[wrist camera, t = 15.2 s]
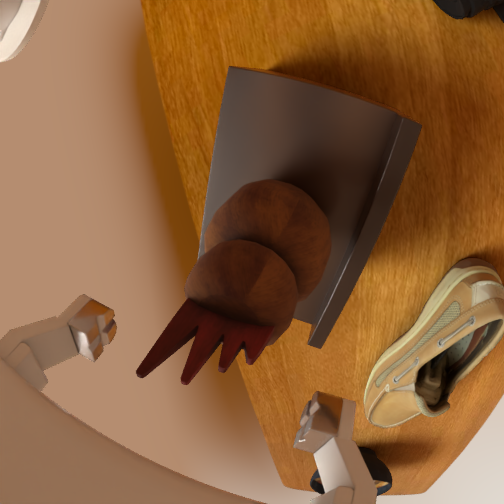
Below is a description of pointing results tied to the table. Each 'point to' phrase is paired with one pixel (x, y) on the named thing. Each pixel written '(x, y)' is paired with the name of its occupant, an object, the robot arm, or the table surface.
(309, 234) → the wooden figurine
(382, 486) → the bowl
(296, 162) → the display shelf
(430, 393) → the boat shoe
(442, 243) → the table surface
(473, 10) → the film camera
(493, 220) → the table surface
